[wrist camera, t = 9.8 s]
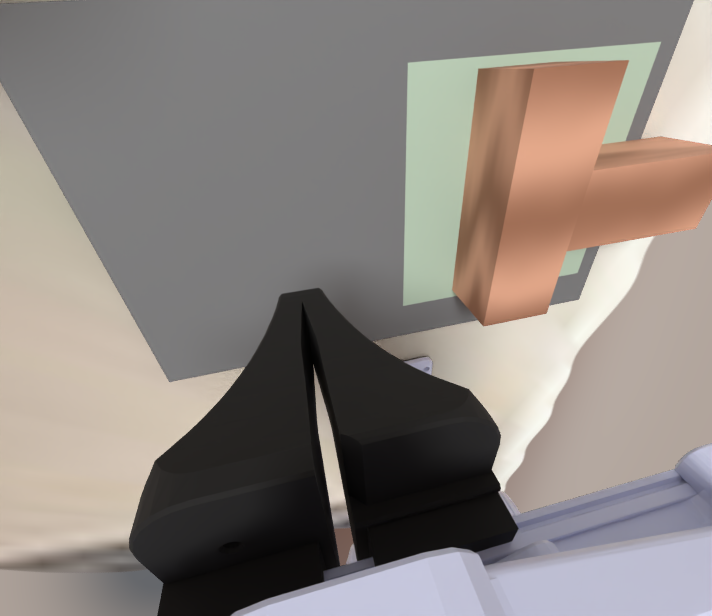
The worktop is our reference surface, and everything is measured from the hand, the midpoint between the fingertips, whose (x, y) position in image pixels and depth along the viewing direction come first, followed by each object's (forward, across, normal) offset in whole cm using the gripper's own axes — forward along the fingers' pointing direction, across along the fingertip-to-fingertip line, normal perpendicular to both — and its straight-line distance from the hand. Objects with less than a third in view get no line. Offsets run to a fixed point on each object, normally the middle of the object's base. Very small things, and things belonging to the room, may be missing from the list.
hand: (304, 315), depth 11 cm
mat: (+9, -6, 0) cm, 10 cm away
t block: (+8, -16, 0) cm, 18 cm away
